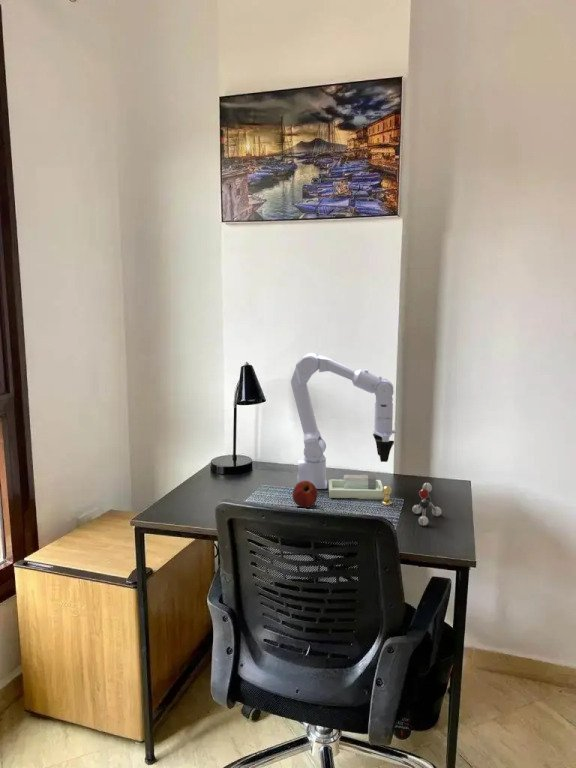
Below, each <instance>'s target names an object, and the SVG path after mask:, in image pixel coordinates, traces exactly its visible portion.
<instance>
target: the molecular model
mask: <svg viewBox="0 0 576 768" xmlns="http://www.w3.org/2000/svg"><path fill="white" fill-rule="evenodd" d="M432 490H433V486H432V484H431V483H429V482H424V483H423V484H422V488H421V489H420V490H419V491H418V495H419V497H420V498H421V499H420V500H421V501H420V502H419V504H414V505H413V506H412V509H411V510H412V513H414V514H416V515H420V514H421V513H422V514H421V516H419V517H418V524H419V525H420V526H422V527H424V526H427V525H428V524H429V518H428V517H427V516H426V512H427V511H426V510H427V509H429V507H430V508H431V513H432V515H433V516H435V517H439V516H441V514H442V509H441V507H438V506H434V504H433V502H432V499H431V496H430V492H431V491H432Z"/></svg>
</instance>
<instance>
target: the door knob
mask: <svg viewBox="0 0 576 768" xmlns="http://www.w3.org/2000/svg"><path fill="white" fill-rule="evenodd" d="M382 492H383V494H384V499H383V500H382V501H381V505H382V504H384V505H383V506H386V505H389V506H391V505H392V501H391V500H390V495H391V494H392V488H391V486H390V485H385V486H384V485H383V489H382ZM390 504H391V505H390Z"/></svg>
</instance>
